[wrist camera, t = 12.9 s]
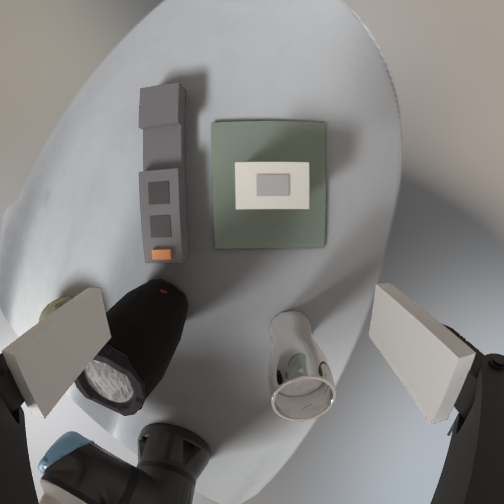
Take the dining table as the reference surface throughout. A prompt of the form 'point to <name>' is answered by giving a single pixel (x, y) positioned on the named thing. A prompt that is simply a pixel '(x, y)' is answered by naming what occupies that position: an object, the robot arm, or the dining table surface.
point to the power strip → (163, 174)
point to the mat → (267, 150)
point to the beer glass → (298, 370)
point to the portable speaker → (136, 347)
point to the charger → (272, 185)
